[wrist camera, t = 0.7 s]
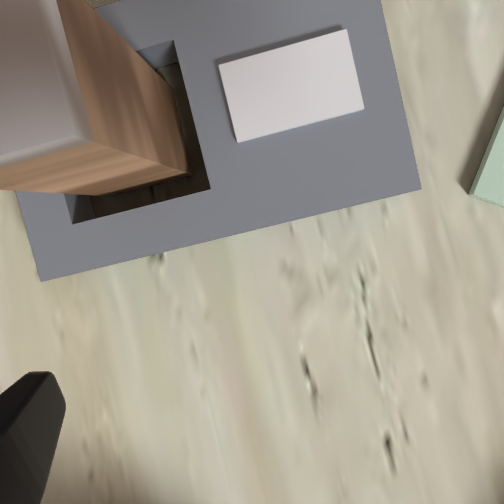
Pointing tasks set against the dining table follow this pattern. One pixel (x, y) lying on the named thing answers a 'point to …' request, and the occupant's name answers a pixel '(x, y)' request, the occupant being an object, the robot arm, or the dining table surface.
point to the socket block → (249, 126)
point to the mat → (491, 169)
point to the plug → (81, 106)
